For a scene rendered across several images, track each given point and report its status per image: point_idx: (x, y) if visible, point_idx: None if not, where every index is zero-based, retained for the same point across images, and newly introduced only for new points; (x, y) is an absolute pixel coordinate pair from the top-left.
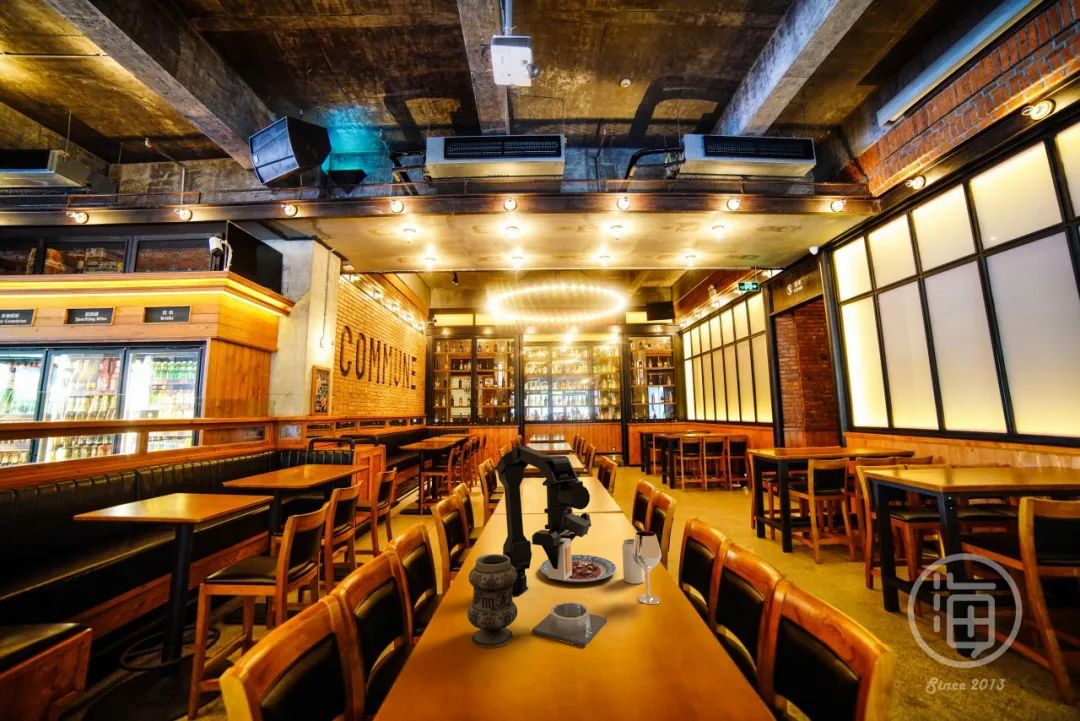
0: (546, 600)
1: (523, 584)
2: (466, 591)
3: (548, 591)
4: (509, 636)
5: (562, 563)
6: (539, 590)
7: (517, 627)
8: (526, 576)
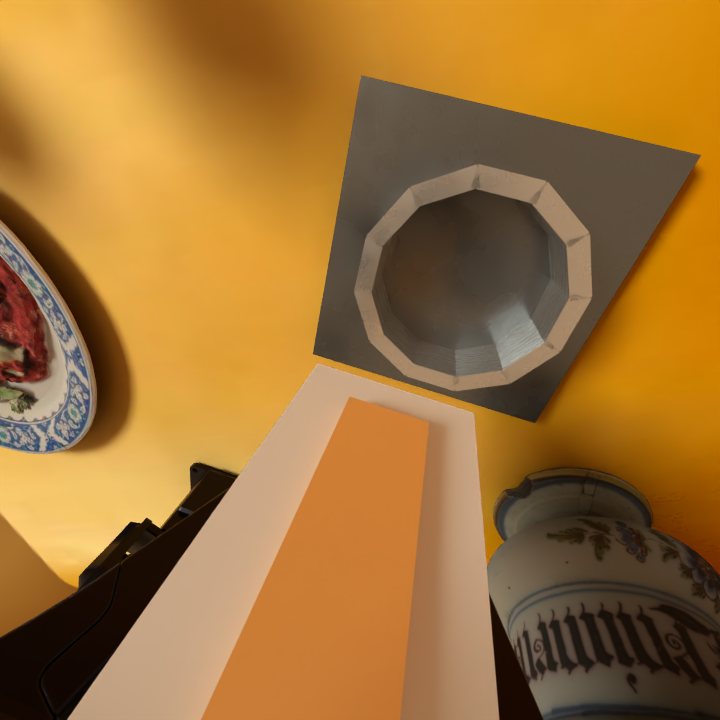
0: (249, 398)
1: (216, 494)
2: None
3: (179, 400)
4: (591, 484)
5: (474, 557)
6: (186, 428)
7: (483, 462)
8: (182, 504)
